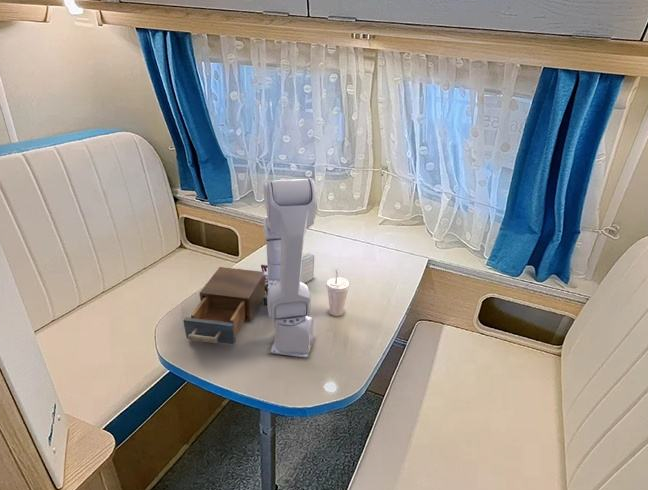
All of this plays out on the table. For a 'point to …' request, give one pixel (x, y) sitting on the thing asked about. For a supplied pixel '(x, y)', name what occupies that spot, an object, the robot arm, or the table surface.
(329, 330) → the table surface
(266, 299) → the remote
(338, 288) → the smoothie
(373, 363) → the table surface
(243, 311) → the drawer
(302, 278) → the medicine box
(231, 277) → the cabinet
